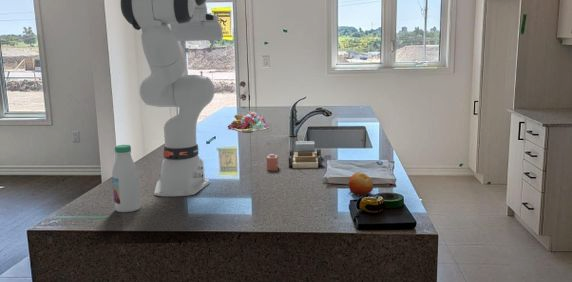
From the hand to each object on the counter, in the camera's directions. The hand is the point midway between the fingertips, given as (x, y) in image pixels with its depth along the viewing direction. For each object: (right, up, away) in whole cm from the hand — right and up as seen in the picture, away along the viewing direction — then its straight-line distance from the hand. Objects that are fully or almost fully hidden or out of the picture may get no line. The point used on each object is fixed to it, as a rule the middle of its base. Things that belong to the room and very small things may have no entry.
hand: (198, 52), depth 205 cm
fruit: (+60, -53, -37) cm, 88 cm away
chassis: (+43, -44, +7) cm, 62 cm away
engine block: (+30, -47, -2) cm, 55 cm away
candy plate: (+14, -28, +93) cm, 98 cm away
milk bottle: (-14, -57, -46) cm, 74 cm away
